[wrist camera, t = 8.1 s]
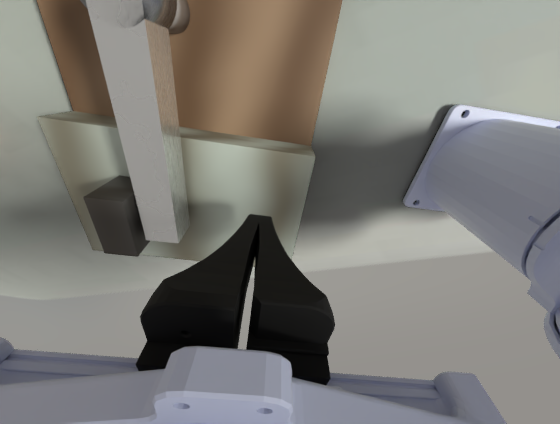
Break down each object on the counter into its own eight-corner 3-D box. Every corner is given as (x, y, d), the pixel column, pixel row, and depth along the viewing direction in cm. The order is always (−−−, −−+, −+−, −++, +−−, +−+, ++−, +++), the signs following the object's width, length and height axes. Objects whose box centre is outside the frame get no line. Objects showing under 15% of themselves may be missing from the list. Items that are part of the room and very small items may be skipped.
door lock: (372, -158, 9) (503, -493, 4) (287, 243, 21) (290, 300, 16) (-28, -262, 8) (-659, -956, 3) (120, 224, 20) (60, 279, 15)
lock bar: (90, -72, 8) (40, -111, 6) (172, -56, 8) (144, -90, 7) (153, 221, 15) (137, 239, 13) (196, 225, 15) (186, 244, 14)
